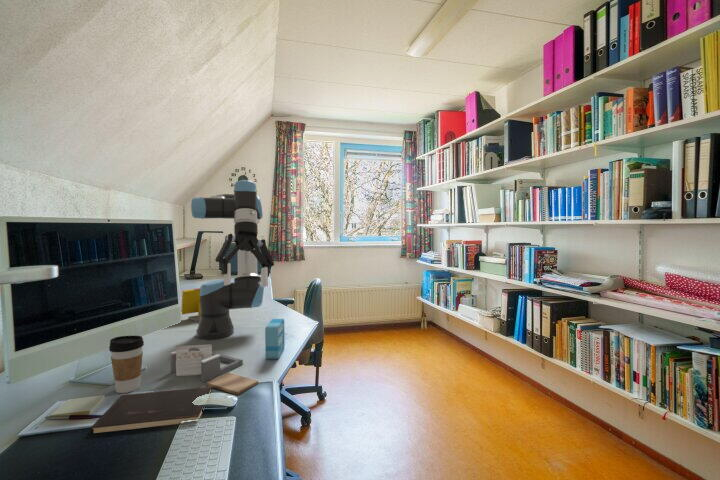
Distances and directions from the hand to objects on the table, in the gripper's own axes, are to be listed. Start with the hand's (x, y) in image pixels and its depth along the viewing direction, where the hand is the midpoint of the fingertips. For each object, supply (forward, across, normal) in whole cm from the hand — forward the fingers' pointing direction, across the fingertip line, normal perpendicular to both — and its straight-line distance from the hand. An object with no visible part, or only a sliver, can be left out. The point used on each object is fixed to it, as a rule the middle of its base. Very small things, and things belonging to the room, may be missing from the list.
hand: (246, 285), depth 113 cm
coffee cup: (+27, -24, +24) cm, 44 cm away
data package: (+23, +20, +13) cm, 33 cm away
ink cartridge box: (+26, -7, +19) cm, 33 cm away
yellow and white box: (+2, +24, +79) cm, 82 cm away
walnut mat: (+29, -3, +4) cm, 30 cm away
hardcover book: (+33, -23, +6) cm, 41 cm away
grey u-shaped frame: (+24, -3, +20) cm, 32 cm away
